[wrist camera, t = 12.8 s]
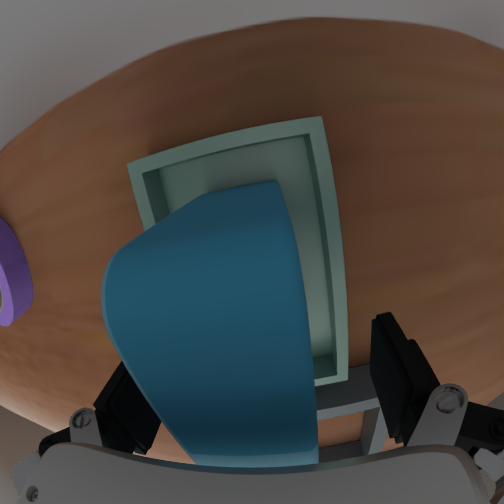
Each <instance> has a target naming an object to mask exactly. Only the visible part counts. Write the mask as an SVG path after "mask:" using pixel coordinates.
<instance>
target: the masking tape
mask: <svg viewBox="0 0 504 504" xmlns="http://www.w3.org/2000/svg"><path fill="white" fill-rule="evenodd" d="M32 299H33V286H32V279H31V274H30V270H29V267H28V263H27V260H26V257H25V255H24V252H23V250H22V248H21V246H20V244H19V241H18V239H17V237H16V236H15V234H14V232H13V231H12V229H11V228H10V227H9V225H8V224H7V223H6V222H5V221H4V220H3V219H1V218H0V325H2V326H8V325H10V324H11V323H12V322H13V321H14V320H16V319H17V318H18V317H19V316H20V315H21V314H23V313H24V312H25V311H26V310H28V308H29V307H30V306H31V303H32Z"/></svg>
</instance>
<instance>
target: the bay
mask: <svg viewBox="0 0 504 504" xmlns="http://www.w3.org/2000/svg"><path fill="white" fill-rule="evenodd" d="M315 394H316V409H317V420H322V419H328V418H333V417H338V416H343V415H348V414H352V413H357V412H361V411H365V412H364V419H363V425H362V431H361V436H360V440H359V441H355V442H350V443H346V444H341V445H336V446H330V447H325V448H319V463H323V462H330V461H337V460H343V459H349V458H354V457H359V456H364V455H369V454H374V453H379V452H381V450H382V447H383V444H384V442H385V439H386V436H387V433H388V430H387V427H386V423H385V420H384V416H383V413H382V410H381V406H380V403H379V400H378V397H377V394H376V390H375V387H374V384H373V381H372V378H371V375H370V364H366V365H362V366H357V367H353V368H349V369H348V380H345V381H340V382H335V383H330V384H325V385H319V386H315Z"/></svg>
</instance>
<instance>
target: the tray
mask: <svg viewBox="0 0 504 504" xmlns="http://www.w3.org/2000/svg"><path fill="white" fill-rule="evenodd" d="M127 167H128V171H129V175H130V179H131V183H132V187H133V191H134V195H135V199H136V202H137V206H138V210H139V213H140V216H141V220H142V223H143V227H144V230H145V231H146V230H147V229H149V228H150V227H152V226H153V225H155V224H156V223H158V222H159V221H161V220H162V219H164V218H165V217H167V216H168V215H170V214H171V213H173V212H174V211H176V210H178V209H179V208H181V207H182V206H184V205H185V204H187V203H189V202H190V201H192V200H193V199H195V198H197V197H198V196H200V195H202V194H207V193H212V192H216V191H221V190H226V189H230V188H235V187H240V186H246V185H251V184H256V183H262V182H267V181H273V180H275V181H278V182H279V184H280V187H281V191H282V194H283V197H284V200H285V203H286V206H287V209H288V213H289V216H290V219H291V222H292V226H293V229H294V233H295V238H296V242H297V247H298V253H299V258H300V263H301V269H302V275H303V282H304V288H305V295H306V302H307V310H308V319H309V328H310V337H311V347H312V358H313V369H314V381H315V386H319V385H325V384H330V383H335V382H340V381H345V380H348V317H347V295H346V280H345V266H344V255H343V245H342V235H341V227H340V218H339V211H338V203H337V196H336V190H335V183H334V177H333V171H332V165H331V160H330V154H329V149H328V144H327V139H326V134H325V129H324V125H323V120H322V116H317V117H309V118H302V119H296V120H289V121H283V122H278V123H272V124H267V125H262V126H257V127H252V128H247V129H242V130H238V131H234V132H229V133H225V134H221V135H217V136H213V137H209V138H206V139H202V140H198V141H195V142H191V143H188V144H184V145H181V146H178V147H175V148H171V149H168V150H165V151H162V152H159V153H156V154H153V155H150V156H147V157H144V158H142V159H139V160H136V161H133V162H131V163H128V164H127Z"/></svg>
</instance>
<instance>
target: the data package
mask: <svg viewBox="0 0 504 504" xmlns="http://www.w3.org/2000/svg"><path fill="white" fill-rule="evenodd" d="M101 308H102V315H103V320H104V324H105V327H106V330H107V333H108V335H109V337H110V339H111V341H112V343H113V345H114V347H115V349H116V351H117V353H118V354H119V356H120V358H121V360H122V361H123V363H124V365H125V367H126V368H127V370H128V372H129V373H130V375H131V377H132V378H133V380H134V381H135V383H136V385H137V386H138V388H139V389H140V391H141V392H142V394H143V395H144V397H145V398H146V400H147V401H148V403H149V404H150V406H151V407H152V409H153V410H154V411H155V413H156V414H157V416H158V417H159V418H160V420H161V421H162V423H163V424H164V425H165V427H166V428H167V429H168V430H169V432H170V433H171V434H172V436H173V437H174V438H175V439H176V441H177V442H178V443H179V444H180V446H181V447H182V448H183V449H184V450H185V452H186V453H187V454H188V455H189V456H190V457H191V459H192V460H193V461H194V462H195V463H196V464H197V465H205V466H218V467H283V466H297V465H307V464H316V463H319V448H318V426H317V409H316V394H315V381H314V369H313V358H312V347H311V337H310V328H309V319H308V310H307V302H306V295H305V288H304V282H303V275H302V269H301V263H300V258H299V253H298V247H297V242H296V238H295V233H294V229H293V226H292V222H291V219H290V216H289V213H288V209H287V206H286V203H285V200H284V197H283V194H282V191H281V187H280V184H279V182H278V181H275V180H273V181H267V182H262V183H256V184H251V185H246V186H240V187H235V188H230V189H226V190H221V191H216V192H212V193H207V194H202V195H200V196H198V197H197V198H195V199H193V200H192V201H190V202H189V203H187V204H185V205H184V206H182V207H181V208H179V209H178V210H176V211H174V212H173V213H171V214H170V215H168V216H167V217H165V218H164V219H162V220H161V221H159V222H158V223H156V224H155V225H153V226H152V227H150V228H149V229H147V230H146V231H144V232H143V233H142V234H140V235H139V236H137V237H136V238H134V239H133V240H131V241H130V242H129V243H127V244H126V245H124V246H123V247H122V248H120V249H119V250H118V251H117V252H116V253H115V254H114V255H113V256H112V258H111V259H110V261H109V263H108V264H107V267H106V269H105V272H104V276H103V280H102V286H101Z"/></svg>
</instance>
